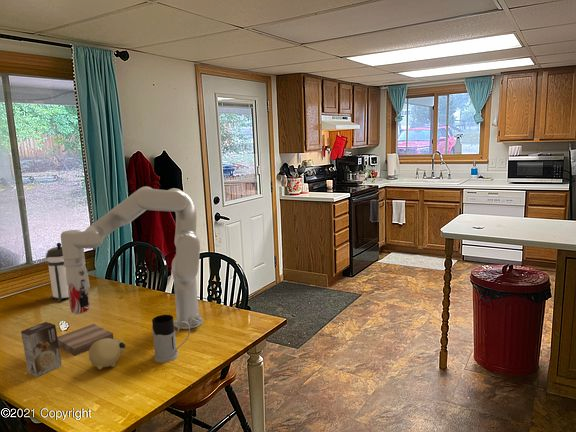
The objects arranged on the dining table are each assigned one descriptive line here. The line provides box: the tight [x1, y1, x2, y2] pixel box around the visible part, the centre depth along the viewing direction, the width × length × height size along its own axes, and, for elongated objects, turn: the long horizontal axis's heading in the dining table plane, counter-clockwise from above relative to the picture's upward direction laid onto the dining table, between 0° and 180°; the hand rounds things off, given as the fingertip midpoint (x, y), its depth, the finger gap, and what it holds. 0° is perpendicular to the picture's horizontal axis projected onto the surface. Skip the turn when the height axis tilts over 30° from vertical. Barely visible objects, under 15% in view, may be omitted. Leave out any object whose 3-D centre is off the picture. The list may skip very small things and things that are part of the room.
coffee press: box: [44, 242, 89, 303], centre depth 226 cm, size 17×16×30 cm
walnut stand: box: [57, 323, 115, 357], centre depth 173 cm, size 16×16×3 cm
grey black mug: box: [151, 314, 191, 363], centre depth 158 cm, size 9×14×15 cm, turn 88°
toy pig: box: [88, 338, 126, 370], centre depth 153 cm, size 10×12×11 cm
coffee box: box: [20, 321, 63, 378], centre depth 152 cm, size 9×6×16 cm
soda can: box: [68, 284, 91, 315], centre depth 170 cm, size 7×7×12 cm
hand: (79, 303), depth 171 cm, fingers closed on soda can, 6 cm apart
